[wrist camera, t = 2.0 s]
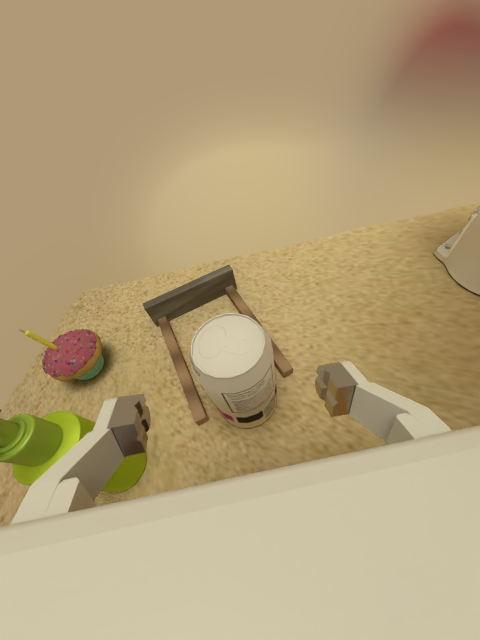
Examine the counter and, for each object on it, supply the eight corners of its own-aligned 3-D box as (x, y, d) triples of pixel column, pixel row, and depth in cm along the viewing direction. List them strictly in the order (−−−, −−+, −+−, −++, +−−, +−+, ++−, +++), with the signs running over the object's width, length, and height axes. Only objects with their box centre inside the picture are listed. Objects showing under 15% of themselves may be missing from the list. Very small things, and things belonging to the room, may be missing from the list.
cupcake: (61, 396, 39) (-11, 362, 30) (71, 352, 44) (13, 310, 35) (113, 382, 39) (58, 343, 30) (118, 339, 45) (72, 294, 35)
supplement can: (211, 422, 33) (170, 376, 22) (228, 367, 38) (201, 304, 26) (271, 436, 31) (261, 393, 19) (280, 376, 36) (278, 312, 24)
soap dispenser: (88, 493, 30) (-126, 480, 15) (118, 435, 34) (-26, 374, 18) (127, 509, 29) (-65, 514, 13) (154, 446, 33) (30, 390, 17)
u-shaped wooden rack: (296, 370, 36) (298, 353, 32) (193, 428, 33) (181, 417, 29) (233, 284, 49) (228, 264, 45) (155, 320, 46) (142, 303, 42)
